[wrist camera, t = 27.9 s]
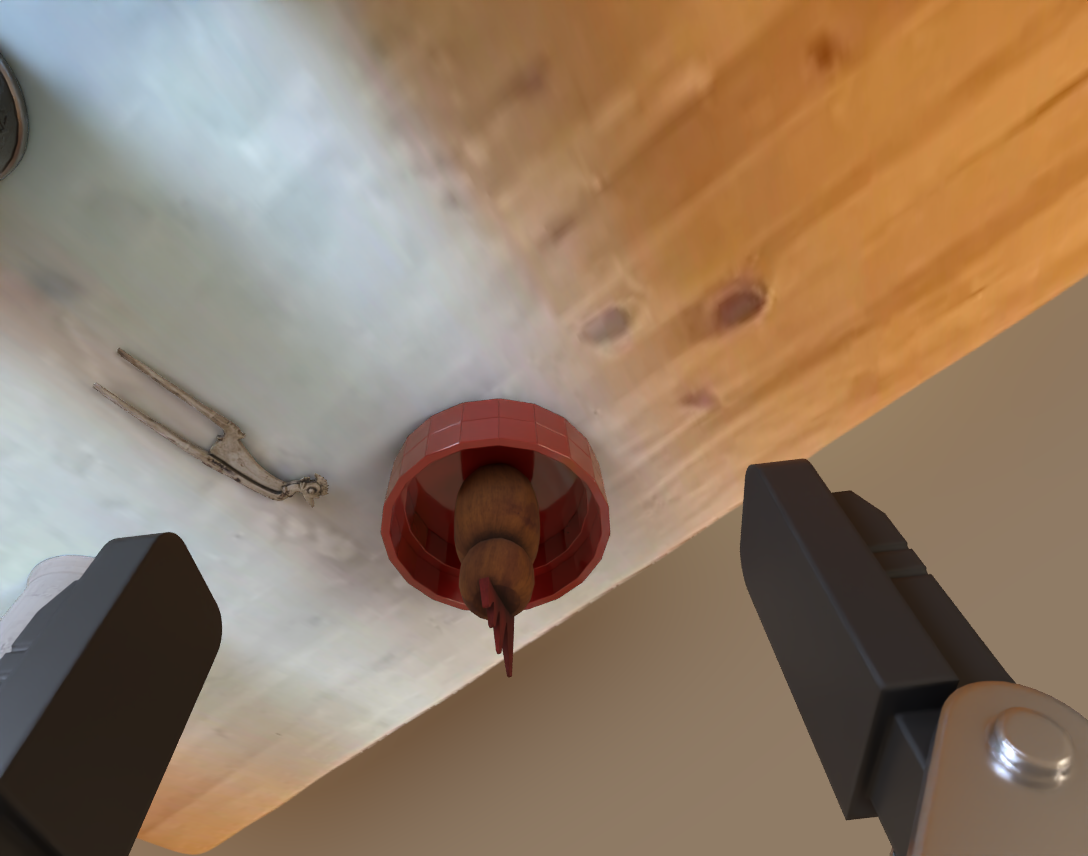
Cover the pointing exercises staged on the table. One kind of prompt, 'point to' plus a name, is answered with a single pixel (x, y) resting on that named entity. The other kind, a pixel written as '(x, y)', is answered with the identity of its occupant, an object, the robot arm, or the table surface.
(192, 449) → the nutcracker
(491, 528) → the wooden figurine
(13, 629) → the glass holder
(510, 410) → the bowl
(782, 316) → the table surface
